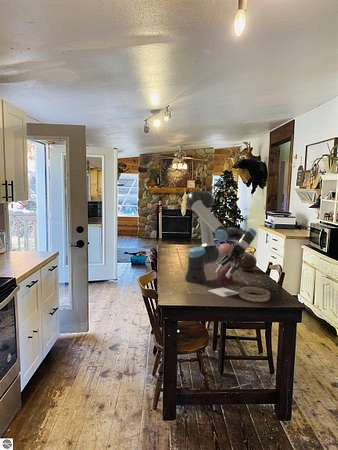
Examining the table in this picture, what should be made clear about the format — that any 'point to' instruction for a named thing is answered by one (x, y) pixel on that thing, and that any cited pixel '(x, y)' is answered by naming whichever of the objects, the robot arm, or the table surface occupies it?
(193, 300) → the table surface
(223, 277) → the vegetable
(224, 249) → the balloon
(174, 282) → the table surface
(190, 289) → the table surface
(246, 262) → the wooden sphere
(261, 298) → the segmented wooden ring
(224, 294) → the white mat
